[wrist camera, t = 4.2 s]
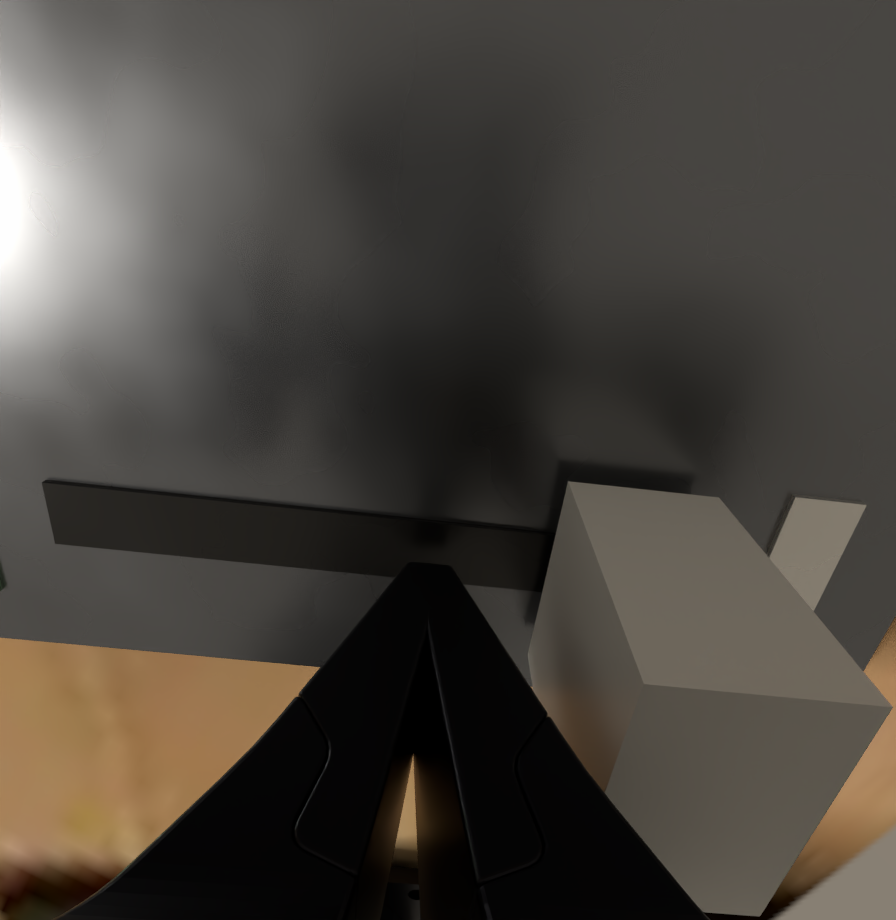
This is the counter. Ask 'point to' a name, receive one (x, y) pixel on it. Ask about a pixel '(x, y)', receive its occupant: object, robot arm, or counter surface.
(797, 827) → the block
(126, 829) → the counter surface
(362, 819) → the robot arm
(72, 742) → the counter surface
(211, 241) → the dark grey flat plate
